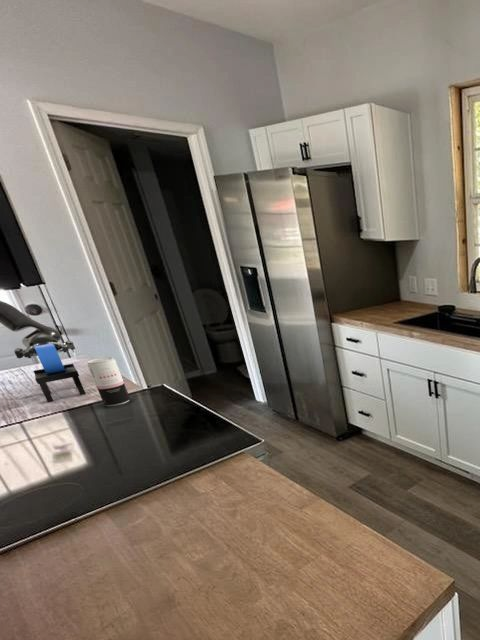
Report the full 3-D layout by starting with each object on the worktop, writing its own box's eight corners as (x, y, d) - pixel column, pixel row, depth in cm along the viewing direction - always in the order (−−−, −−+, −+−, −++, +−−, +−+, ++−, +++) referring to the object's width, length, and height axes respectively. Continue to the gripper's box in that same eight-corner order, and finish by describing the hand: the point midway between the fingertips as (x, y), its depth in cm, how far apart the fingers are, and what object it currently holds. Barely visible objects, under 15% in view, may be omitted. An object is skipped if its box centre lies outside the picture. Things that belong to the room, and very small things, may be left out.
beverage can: (104, 402, 137) (86, 360, 132) (130, 397, 142) (114, 355, 136) (104, 408, 133) (86, 364, 128) (131, 402, 137) (114, 359, 132)
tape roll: (46, 374, 139) (33, 345, 137) (46, 374, 146) (34, 346, 144) (65, 370, 142) (53, 342, 140) (65, 370, 149) (53, 343, 147)
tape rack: (44, 393, 148) (33, 370, 145) (82, 385, 155) (72, 363, 152) (46, 402, 139) (35, 378, 136) (87, 393, 146) (77, 370, 143)
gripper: (10, 339, 145) (10, 346, 135) (67, 331, 155) (71, 337, 145) (20, 359, 148) (21, 368, 138) (75, 350, 158) (79, 357, 148)
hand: (46, 352), depth 142 cm, fingers open, 8 cm apart
